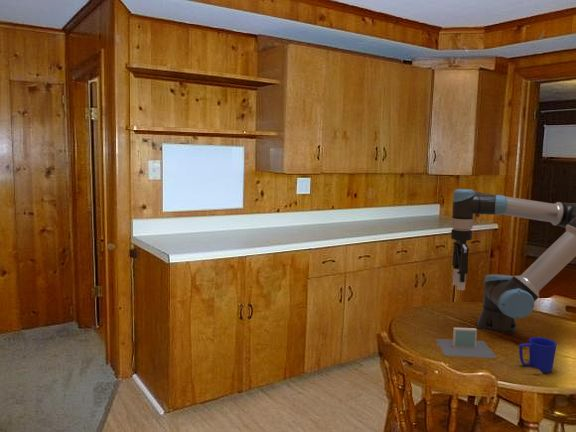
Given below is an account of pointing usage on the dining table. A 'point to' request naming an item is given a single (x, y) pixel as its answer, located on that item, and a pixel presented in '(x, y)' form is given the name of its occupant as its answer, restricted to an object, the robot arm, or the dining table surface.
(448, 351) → the board
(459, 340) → the tile
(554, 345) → the mug
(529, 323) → the dining table surface
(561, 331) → the dining table surface
